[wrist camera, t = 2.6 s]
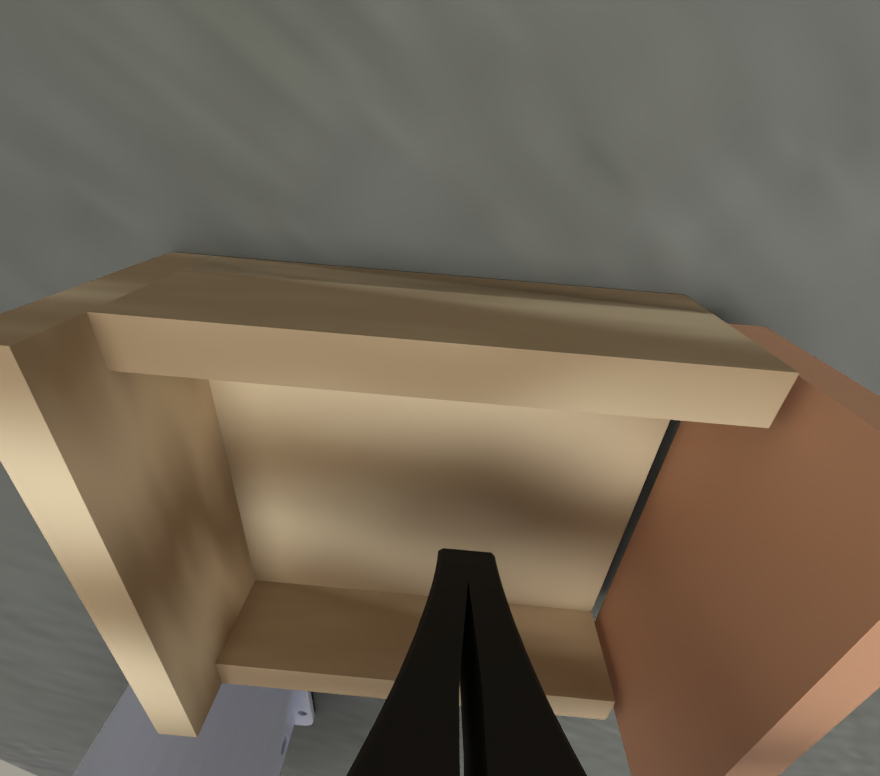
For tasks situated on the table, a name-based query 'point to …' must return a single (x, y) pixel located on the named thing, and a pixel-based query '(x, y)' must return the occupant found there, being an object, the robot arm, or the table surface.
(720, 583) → the panel
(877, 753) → the table surface
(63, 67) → the table surface
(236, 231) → the table surface
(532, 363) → the tray
